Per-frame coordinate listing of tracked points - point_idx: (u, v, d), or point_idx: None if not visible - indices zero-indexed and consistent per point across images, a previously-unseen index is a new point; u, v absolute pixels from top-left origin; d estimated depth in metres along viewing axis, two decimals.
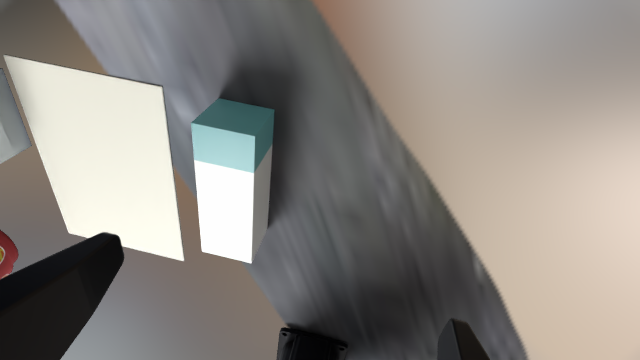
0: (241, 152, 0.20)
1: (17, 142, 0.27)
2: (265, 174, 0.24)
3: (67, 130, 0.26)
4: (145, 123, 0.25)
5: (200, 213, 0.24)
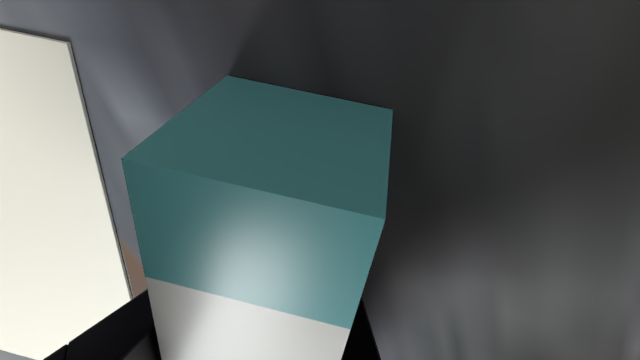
0: (315, 269, 0.05)
1: None
2: None
3: None
4: (41, 141, 0.10)
5: None
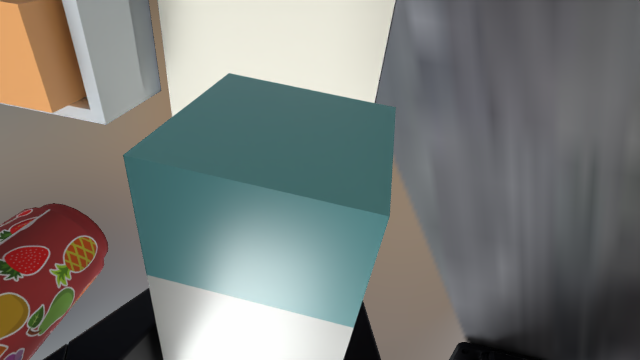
0: (318, 266, 0.05)
1: (148, 82, 0.19)
2: None
3: (222, 62, 0.19)
4: (352, 41, 0.17)
5: None
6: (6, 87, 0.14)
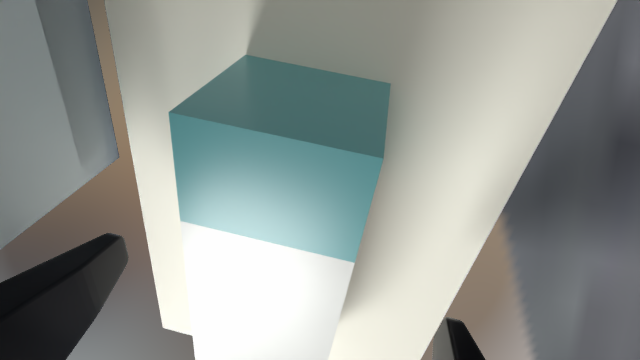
0: (326, 206, 0.07)
1: (93, 149, 0.10)
2: None
3: None
4: (487, 99, 0.09)
5: (196, 336, 0.10)
6: None
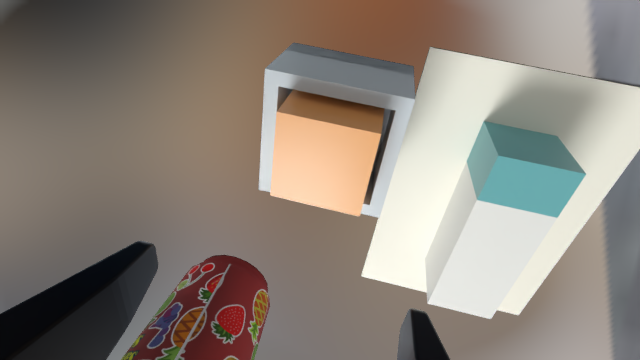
0: (553, 193, 0.16)
1: None
2: None
3: (461, 151, 0.20)
4: (605, 144, 0.18)
5: (449, 261, 0.19)
6: (322, 193, 0.16)
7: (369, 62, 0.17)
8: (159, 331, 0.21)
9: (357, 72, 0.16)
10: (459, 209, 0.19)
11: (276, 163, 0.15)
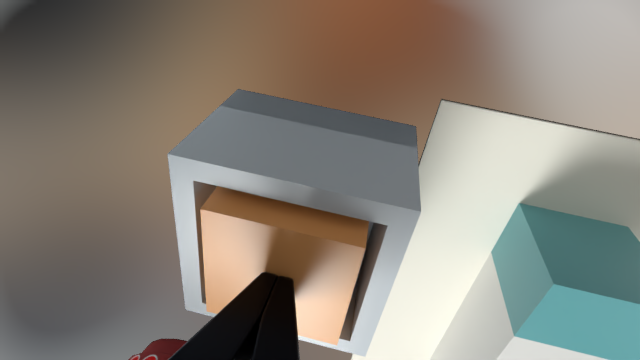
0: (638, 337, 0.10)
1: None
2: None
3: (483, 239, 0.14)
4: None
5: None
6: None
7: (349, 123, 0.11)
8: None
9: (327, 148, 0.10)
10: (481, 326, 0.13)
11: (209, 274, 0.10)
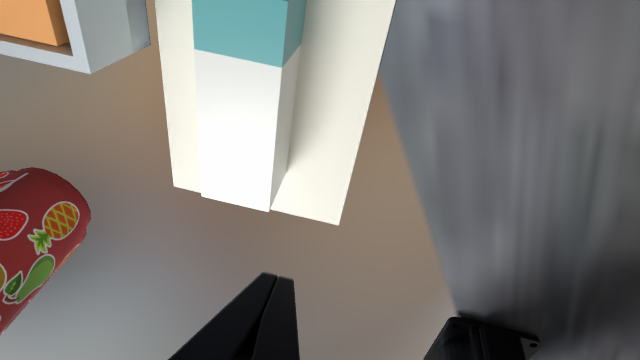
0: (265, 32, 0.14)
1: (137, 33, 0.17)
2: (291, 85, 0.17)
3: None
4: None
5: (200, 137, 0.17)
6: (9, 16, 0.14)
7: None
8: None
9: None
10: None
11: None
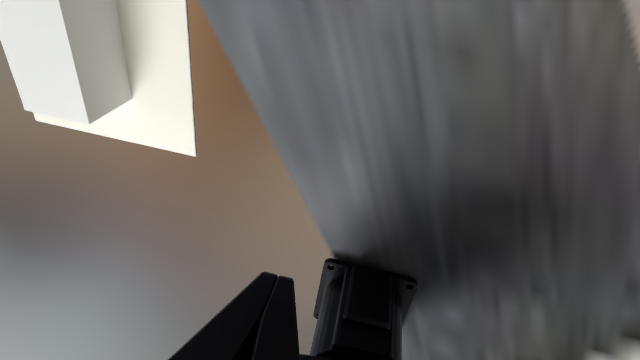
0: None
1: None
2: None
3: None
4: None
5: (2, 40, 0.17)
6: None
7: None
8: None
9: None
10: None
11: None
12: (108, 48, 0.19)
